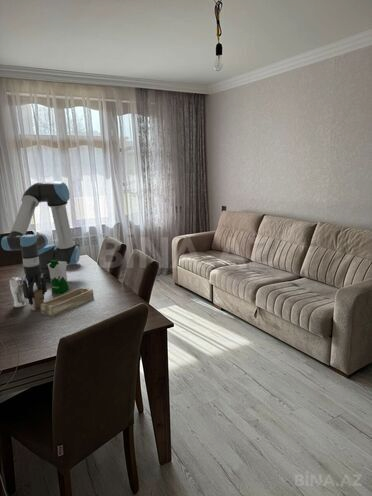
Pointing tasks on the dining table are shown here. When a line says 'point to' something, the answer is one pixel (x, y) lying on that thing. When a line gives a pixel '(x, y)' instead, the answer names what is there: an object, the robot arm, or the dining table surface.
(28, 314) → the dining table surface
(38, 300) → the walnut post
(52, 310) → the slot well
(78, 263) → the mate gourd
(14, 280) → the beer glass
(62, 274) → the milk carton
